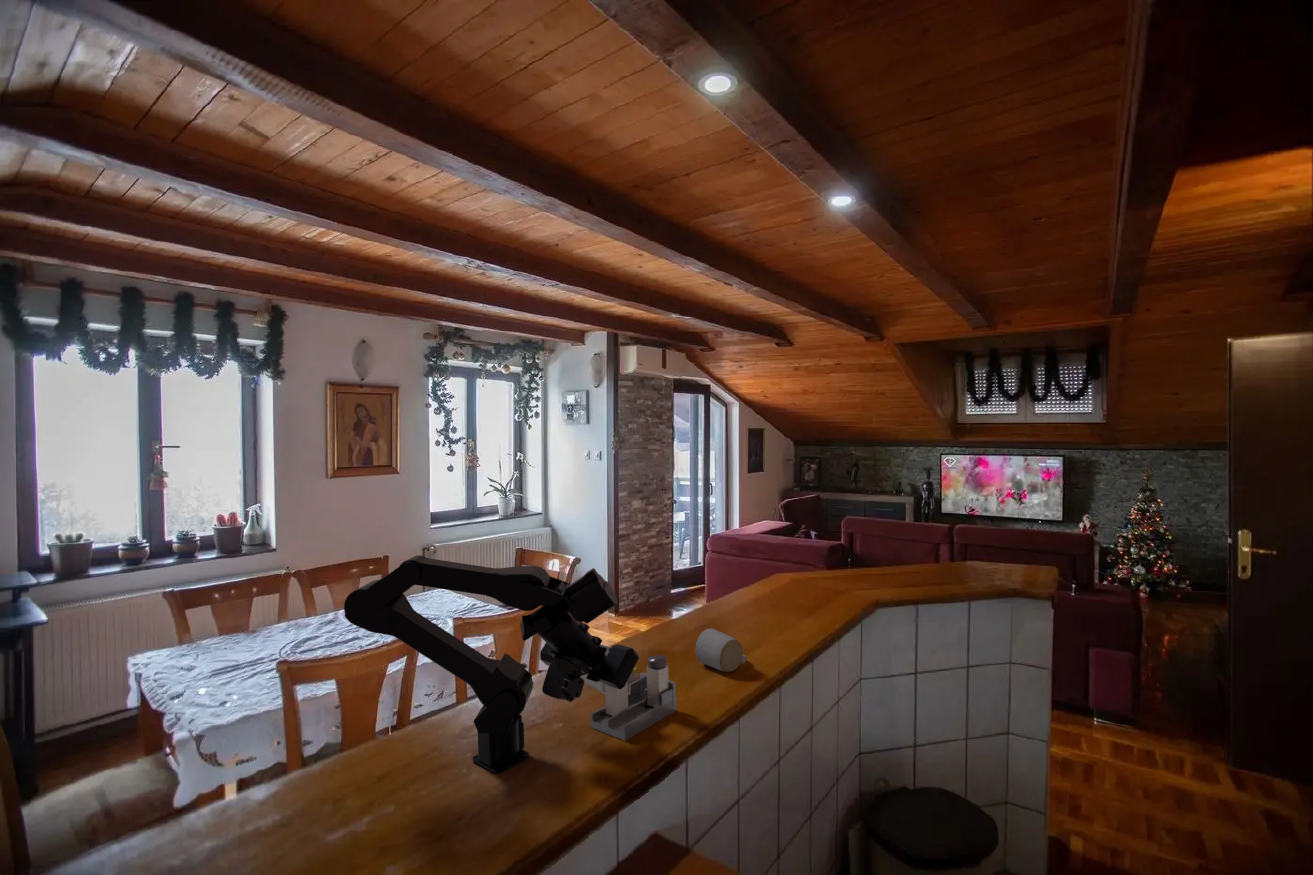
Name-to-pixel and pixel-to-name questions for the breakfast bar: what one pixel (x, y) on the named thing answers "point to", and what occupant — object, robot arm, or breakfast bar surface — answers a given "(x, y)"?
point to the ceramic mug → (719, 651)
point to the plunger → (616, 699)
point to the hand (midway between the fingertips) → (612, 681)
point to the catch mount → (641, 703)
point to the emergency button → (601, 686)
